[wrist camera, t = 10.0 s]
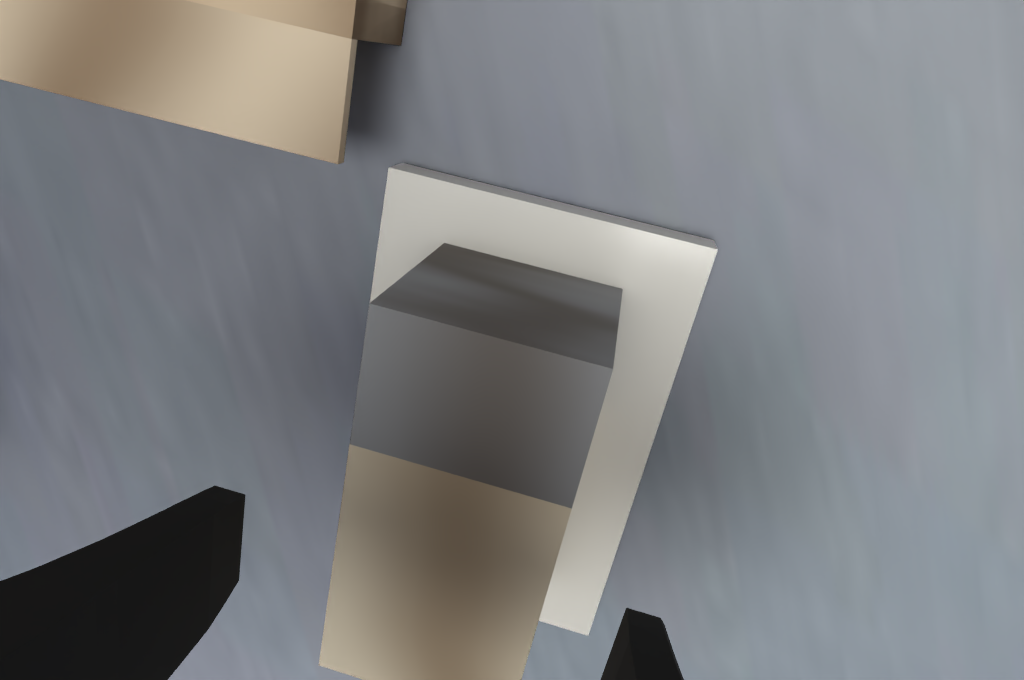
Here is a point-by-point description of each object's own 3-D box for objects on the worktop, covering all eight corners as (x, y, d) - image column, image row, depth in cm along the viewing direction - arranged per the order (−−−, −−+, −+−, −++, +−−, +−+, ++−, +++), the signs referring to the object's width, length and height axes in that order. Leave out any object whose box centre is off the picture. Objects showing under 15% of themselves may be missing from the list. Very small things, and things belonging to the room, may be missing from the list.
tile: (347, 537, 22) (334, 557, 21) (402, 162, 18) (388, 167, 17) (590, 612, 21) (588, 635, 21) (714, 240, 17) (717, 249, 16)
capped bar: (392, 533, 21) (318, 665, 16) (444, 242, 17) (369, 303, 12) (539, 577, 20) (507, 726, 16) (622, 288, 17) (613, 368, 12)
